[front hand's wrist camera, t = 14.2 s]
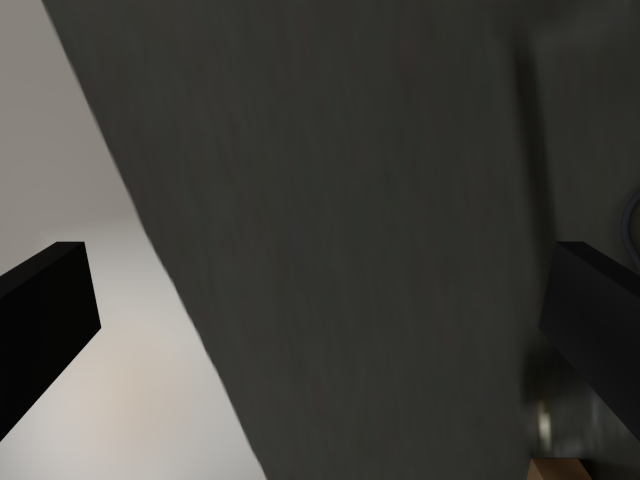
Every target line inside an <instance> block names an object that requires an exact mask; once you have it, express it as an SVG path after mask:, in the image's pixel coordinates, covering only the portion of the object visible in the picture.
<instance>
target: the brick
mask: <svg viewBox="0 0 640 480" xmlns="http://www.w3.org/2000/svg"><path fill="white" fill-rule="evenodd" d="M527 480H592V479H591V477H590V476H589V474H588V473H587V471H586V470H585V468H584V467H583V465H582V464H581V462H580V461H579V460H578V458H531V462H530V467H529V471H528V476H527Z"/></svg>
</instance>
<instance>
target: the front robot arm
mask: <svg viewBox="0 0 640 480" xmlns="http://www.w3.org/2000/svg"><path fill="white" fill-rule="evenodd" d="M639 201H640V190H639V191H638V192H637V193H636V194H635V195H634V196H633V197H632V199H631V200H630V201H629V203H628V204H627V206H626V208H625V210H624V213H623V216H622V221H621V235H622V239H623V242H624V244H625V246H626V248H627V250H628V252H629V254H630V255H631V257H632V259H633V261H634V262H635V264H636V266H637V269H638V271H639V274H640V256H639V254H638V252H637V251H636V249H635V247H634V245H633V243H632V240H631V238H630V233H629V223H630V218H631V215H632V212H633V210H634V208H635V206H636V205H637V203H638V202H639ZM100 329H101V323H100V319H99V313H98V308H97V303H96V298H95V293H94V288H93V283H92V278H91V273H90V268H89V263H88V258H87V253H86V248H85V243H84V242H55V243H54V244H52V245H51V246H49V247H47V248H46V249H44V250H42V251H41V252H39V253H37V254H36V255H34V256H32V257H31V258H29V259H28V260H26V261H24V262H23V263H21V264H19V265H18V266H16V267H15V268H13V269H11V270H10V271H8V272H6V273H5V274H3V275H1V276H0V442H1V440H2V439H3V438H4V437H5V436H6V435H7V434H8V433H9V431H10V430H11V429H12V428H13V427H14V426H15V425H16V424H17V422H18V421H19V420H20V419H21V418H22V417H23V416H24V414H25V413H26V412H27V411H28V410H29V409H30V408H31V407H32V405H33V404H34V403H35V402H36V401H37V400H38V399H39V398H40V396H41V395H42V394H43V393H44V392H45V391H46V390H47V389H48V387H49V386H50V385H51V384H52V383H53V382H54V381H55V380H56V378H57V377H58V376H59V375H60V374H61V373H62V372H63V370H64V369H65V368H66V367H67V366H68V365H69V364H70V363H71V362H72V360H73V359H74V358H75V357H76V356H77V355H78V354H79V352H80V351H81V350H82V349H83V348H84V347H85V346H86V345H87V343H88V342H89V341H90V340H91V339H92V338H93V337H94V336H95V334H96V333H97V332H98V331H99V330H100ZM539 329H540V330H541V331H542V332H543V333H544V334H545V336H546V337H547V338H548V339H549V340H550V341H551V342H552V343H553V345H554V346H555V347H556V348H557V349H558V350H559V351H560V352H561V354H562V355H563V356H564V357H565V358H566V359H567V360H568V362H569V363H570V364H571V365H572V366H573V367H574V368H575V369H576V371H577V372H578V373H579V374H580V375H581V376H582V377H583V378H584V380H585V381H586V382H587V383H588V384H589V385H590V386H591V387H592V389H593V390H594V391H595V392H596V393H597V394H598V395H599V396H600V398H601V399H602V400H603V401H604V402H605V403H606V404H607V406H608V407H609V408H610V409H611V410H612V411H613V412H614V413H615V415H616V416H617V417H618V418H619V419H620V420H621V421H622V422H623V424H624V425H625V426H626V427H627V428H628V429H629V430H630V431H631V433H632V434H633V435H634V436H635V437H636V438H637V439H638V440H639V442H640V276H639V275H637V274H635V273H634V272H632V271H630V270H629V269H627V268H626V267H624V266H622V265H621V264H619V263H617V262H616V261H614V260H612V259H611V258H609V257H608V256H606V255H604V254H603V253H601V252H599V251H598V250H596V249H594V248H593V247H591V246H589V245H588V244H586V243H585V242H556V243H555V248H554V253H553V258H552V263H551V268H550V273H549V278H548V283H547V288H546V293H545V298H544V303H543V308H542V313H541V318H540V323H539Z"/></svg>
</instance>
